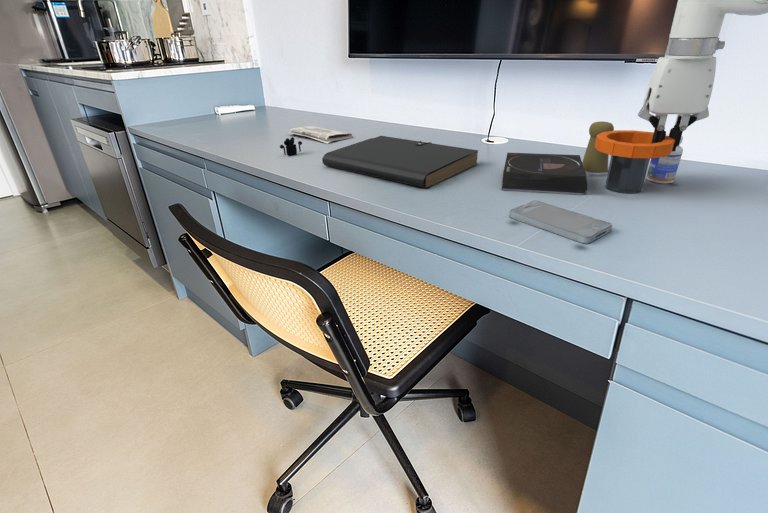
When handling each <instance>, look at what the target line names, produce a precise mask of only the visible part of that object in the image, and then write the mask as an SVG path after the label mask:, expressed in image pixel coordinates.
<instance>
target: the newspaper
mask: <svg viewBox="0 0 768 513" xmlns="http://www.w3.org/2000/svg"><path fill="white" fill-rule="evenodd" d="M287 133H288V134H292V135H296V136H301V137H307V138H309V139H313V140H316V141H318V142H322V143H325V144H327V145H328V144H329V143H332V142H334V141H341V140H342V141H343V140H348V139H350V138H352V136H353V133H349V132H344V131H340V130H335V129H329V128H324V127H319V126H314V125H310V126H309V125H308V126H307V125H306V126H299V127H298V126H297V127H294V128H290V130H289V131H287Z"/></svg>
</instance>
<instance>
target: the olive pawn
mask: <svg viewBox="0 0 768 513" xmlns="http://www.w3.org/2000/svg"><path fill="white" fill-rule="evenodd" d="M607 131H615V126H614V124H613V123H611V122H609V121H594V122H593V123H591V124H590V126H589V129H588V135H590V137H589V140H588V143H587V146H586V149H585V153H584V156H583V159H582V164H583V167H584V170H585V172H589V173H605V172H608V169H609V154H606V153H603V152H600V151H598V150H597V149H596V148H595V141H596V136H597V135H598V134H600V133H602V132H607Z"/></svg>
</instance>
